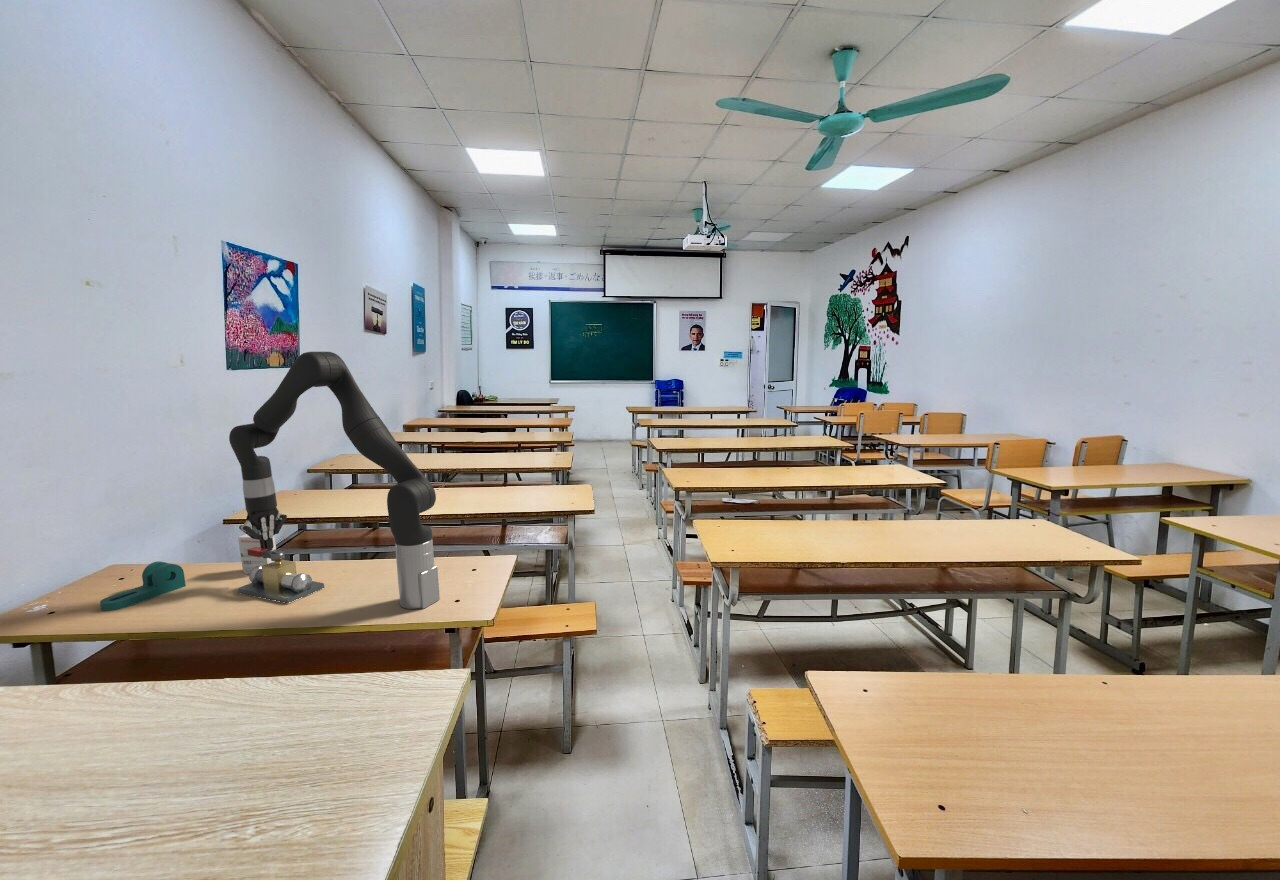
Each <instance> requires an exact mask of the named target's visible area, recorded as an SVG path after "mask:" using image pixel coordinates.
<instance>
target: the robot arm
mask: <svg viewBox="0 0 1280 881" xmlns="http://www.w3.org/2000/svg"><path fill="white" fill-rule="evenodd" d="M321 387H327V388H328V389H330V391H331V392H332V393H333V395H334V396H335V397H336V399H337V400H338V402H339V404H340V407H341V408H340V409H341V421H342V428H343V431H344V433H345V435H346V437H347V438H348V439H349V440H350V442H351V444H352V445H353V447H354V448H355V449H356V450H357V451H358V452H359V453H360V455H362V456H363V457H364V458H366V459H368V460H369V461H371V462H372V463H373V464H376V465H377V466H379V467H380V468H382V469H384V470H385V471H386V472H388V473H389V475H390V476H391V477H392V478H393V479H394V480H395V481H396V483H397V484H394V485H393V486H392V487H390V489H389V490H388V492H387V497H386V506H387V514H388V521H389V528H390V531H391V532H390V533H391V534H392V536H393V537H394V546H395V547H394V548H395V560H396V571H397V585H398V595H399V606H400V607H402V608H403V609H407V610H408V609H411V610H415V609H426V608H428V607H430V606H431V605H432V604H434V603H436V602H438V601H440V600H441V599H440V598H441V596H440V584H439V583H440V582H439V569H438V566H437V565H435V556H434V545H433V544H434V543H433V542H434V541H433V532H432V531H433V530H432V528H431V527H430V526H428V525H424V524H422V522H421V517H420V514H422V513H424V512H427V511H428V510H431V509H432V508H433V507H434V506H435V504H436V500H437V494H436V491H435V489H434V488H435V487H434V486H433V485H432V483H431V482H430V480H429V479H428V478H427V476H425V474H423V472H422V471H421V470H420V469H419V468H418V467H417V466H416V465H415V463H414V462H413V461H412V460H411V459H410V458H409V457H408V455H407V454H406V452H405V451H404V450H403V448H402V447H401V445H400V444H399V443H398V441H397V440H396V439H395V437H394V436H393V434H391V432H390V430H389V428H388V427H387V426H386V424H385V423H384V422H383V420H382V419H381V417H380V416H379V415H378V414H377V412H376V411H375V410H374V408H373V406H371V404H370V402H369V401H368V399H367V398H366V396H365V394H363V392H362V391H361V389H360V387H359V385H358V384H357V382H356V380H355V379H354V377H353V375H352V373H351V371H350V370H349V367H348V366H347V364H346V363H345V361H344V360H343V358H341V357H340V356H339V354H337V353H334V352H332V351H307V352H303V353H301V354H300V355H298V357H297V358H296V359H295V360H294V362H293V363H292V365H291V366H290V367H289V369H288V371H287V373H286V375H285V376H284V378H283V379H282V381H281V382H280V384H279V385H278V387H277V388H276V390H275V391H274V392H273V394H271V396H270V397H269V398H268V399H267V400H266V401H265V402H264V403H263V404H262V405H261V407H259V408H258V409H257V411H255V413H254V414H253V417H252V419H253V420H252V421H253V423H247V424H241V425H236V426H234V427H233V428H231V430H230V432H229V437H228V438H229V439H228V440H229V444H230V447H231V448H232V449H231V450H232V451H233V452H234V455H235V456H236V459H237V461H238V463H239V465H240V470H241V478H242V492H243V498H244V504H245V511H246V513H247V514H246V521H245V522H244V523H243V524H241V525H239V527H238V529H239V530H240V531H242V532H243V533H244V534H247V535H248V536H250V537H251V538H252V539H257V540H260V545H261V548H266V549H267V550H270V551H271V550H272V548H273V546H274V545H273V536H274V537H275V535H278V534H279V533H280V532H281V529H282V527H283V526H284V523H285V522H286V520H287V518H288V515H287V514H283V513H281V512H279V509H278V508H277V506H278V503H277V502H278V501H277V496H276V495H277V494H276V487H275V483H274V482H275V481H274V479H273V474H272V472H273V471H272V466H271V460H270V458H269V457H267V456H264V455H257V453H256V452H255V449H259V448H264V447H267V446H268V445H270V444H272V442H274V440H275V439H276V437H277V435H278V434H279V431H280V428H282V426H283V425H284V424H285V423H287V421H289V419H291V417H292V416H293V415H294V413H295V411H296V409H297V404H298V399H300V396H301V395H302V394H304V393H305V392H307V391H309V390H310V389H312V388H321ZM253 527H254V529H255V530H254V529H253Z"/></svg>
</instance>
